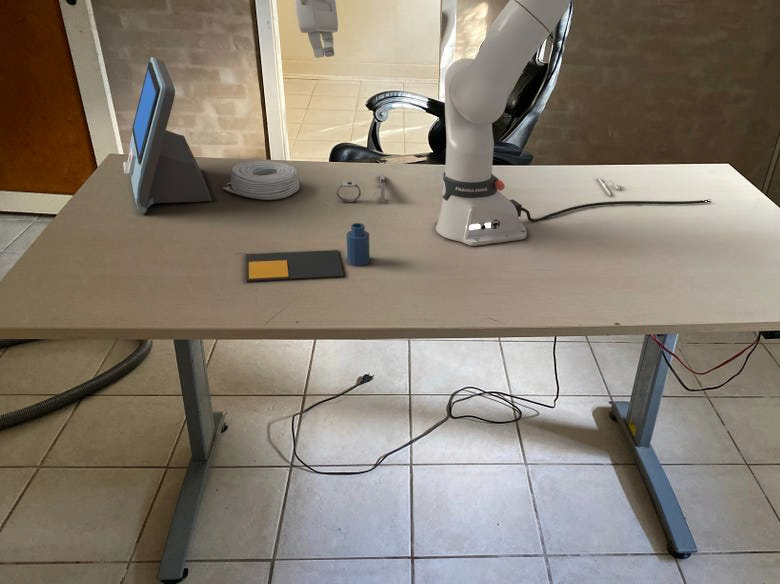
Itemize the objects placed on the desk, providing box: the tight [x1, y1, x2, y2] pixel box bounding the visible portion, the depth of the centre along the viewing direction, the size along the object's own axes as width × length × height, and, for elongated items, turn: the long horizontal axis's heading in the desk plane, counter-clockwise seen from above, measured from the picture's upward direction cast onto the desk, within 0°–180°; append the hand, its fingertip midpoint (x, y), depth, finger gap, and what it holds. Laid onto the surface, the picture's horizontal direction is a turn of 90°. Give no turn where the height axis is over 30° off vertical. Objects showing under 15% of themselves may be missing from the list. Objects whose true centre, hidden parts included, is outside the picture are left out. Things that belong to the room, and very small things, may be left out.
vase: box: [346, 222, 370, 267], centre depth 161 cm, size 5×5×8 cm
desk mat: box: [246, 249, 345, 283], centre depth 160 cm, size 20×13×1 cm, turn 104°
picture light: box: [598, 178, 621, 196], centre depth 215 cm, size 14×4×2 cm, turn 5°
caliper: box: [379, 173, 386, 203], centre depth 201 cm, size 20×1×6 cm, turn 6°
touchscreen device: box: [122, 56, 213, 215], centre depth 186 cm, size 35×20×30 cm, turn 23°
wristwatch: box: [336, 181, 362, 203], centre depth 192 cm, size 6×3×5 cm, turn 102°
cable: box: [222, 161, 300, 201], centre depth 195 cm, size 18×18×6 cm
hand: (325, 57), depth 151 cm, fingers open, 8 cm apart
